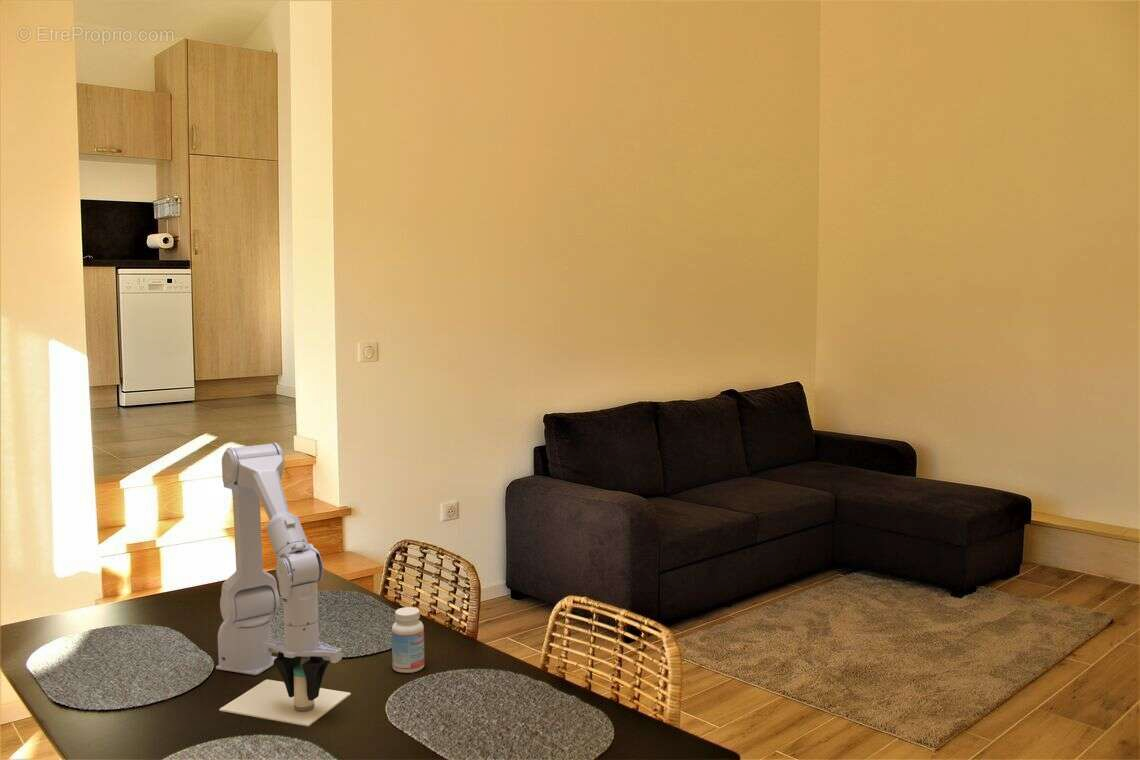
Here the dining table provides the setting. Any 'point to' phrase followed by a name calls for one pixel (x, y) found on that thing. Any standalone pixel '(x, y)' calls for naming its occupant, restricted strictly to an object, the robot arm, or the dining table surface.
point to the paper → (282, 704)
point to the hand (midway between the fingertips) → (303, 696)
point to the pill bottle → (407, 641)
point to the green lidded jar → (301, 691)
